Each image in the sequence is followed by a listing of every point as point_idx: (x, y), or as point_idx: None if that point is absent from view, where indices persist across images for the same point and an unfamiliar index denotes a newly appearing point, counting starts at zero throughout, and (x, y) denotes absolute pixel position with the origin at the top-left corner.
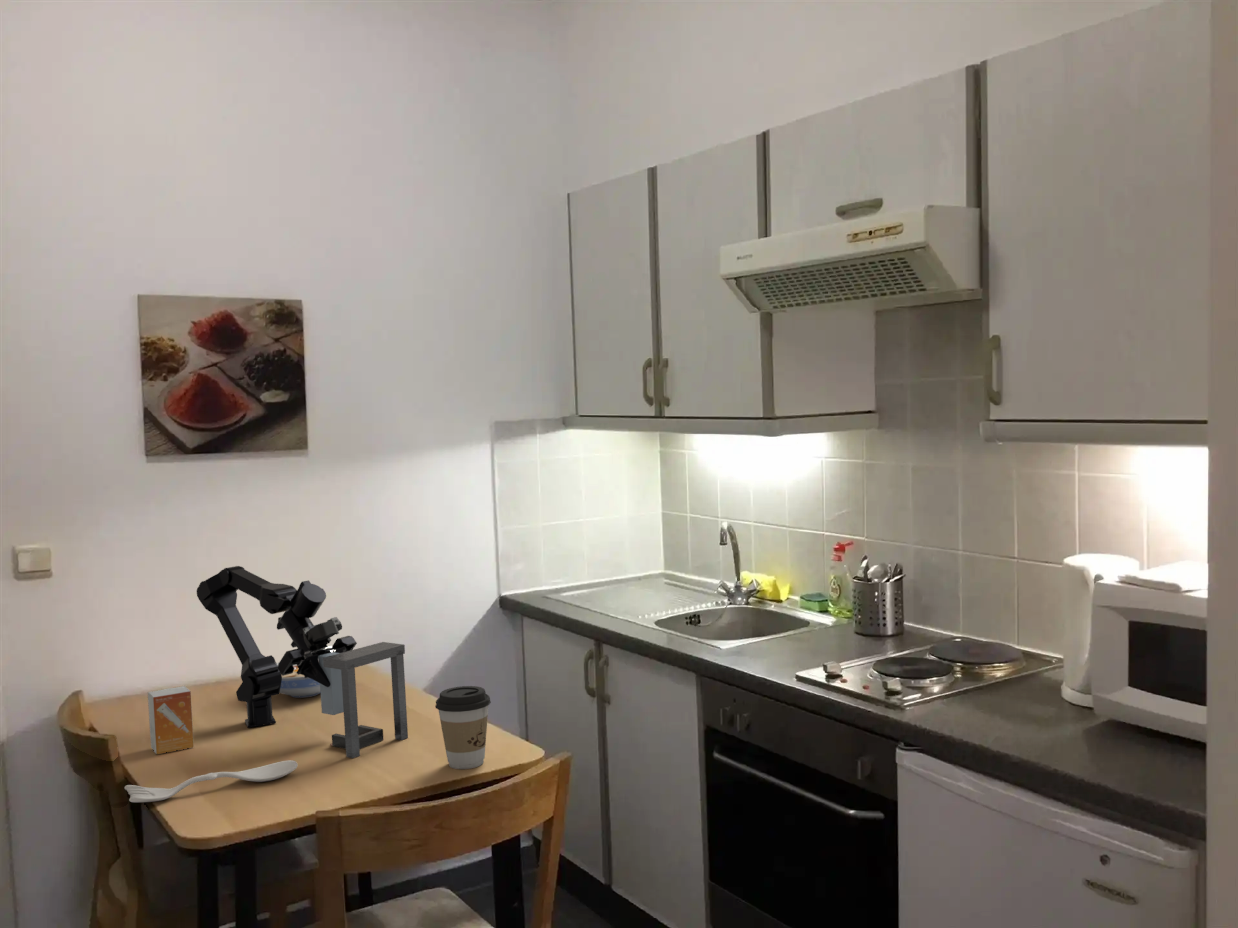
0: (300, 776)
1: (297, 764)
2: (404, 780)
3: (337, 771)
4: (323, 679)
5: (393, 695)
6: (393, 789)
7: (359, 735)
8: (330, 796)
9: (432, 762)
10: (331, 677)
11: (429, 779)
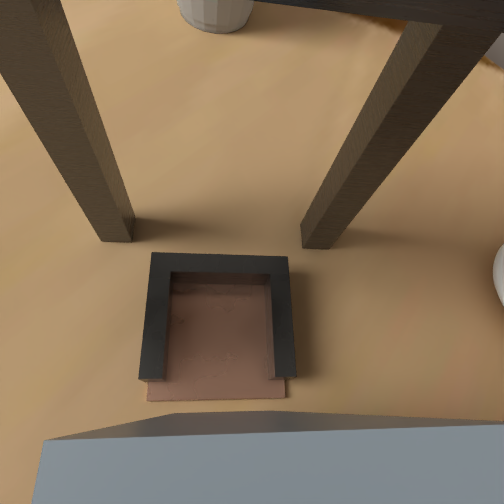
0: (483, 239)
1: (498, 252)
2: (347, 51)
3: (405, 189)
4: None
5: (90, 136)
6: (386, 43)
7: (247, 271)
8: (482, 107)
9: (243, 60)
10: (342, 414)
11: (316, 22)
